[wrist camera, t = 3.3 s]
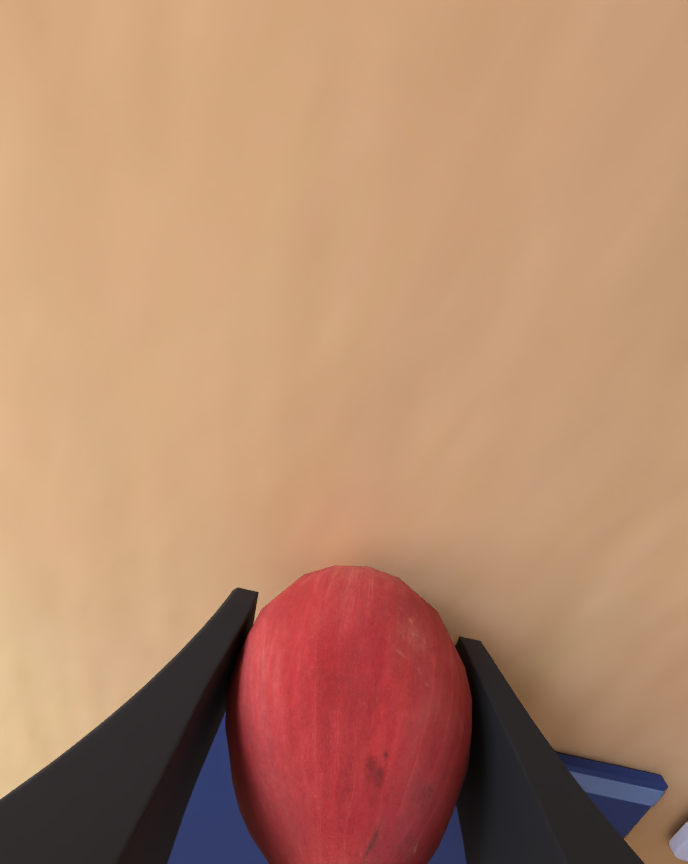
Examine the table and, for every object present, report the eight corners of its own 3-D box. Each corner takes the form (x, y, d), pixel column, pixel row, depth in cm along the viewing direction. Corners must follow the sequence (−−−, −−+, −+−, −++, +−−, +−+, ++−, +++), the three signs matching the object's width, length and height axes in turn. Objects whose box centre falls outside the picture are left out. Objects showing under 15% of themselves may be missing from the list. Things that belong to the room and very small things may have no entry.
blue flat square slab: (661, 774, 15) (670, 788, 14) (490, 979, 21) (493, 992, 21) (175, 669, 15) (169, 680, 14) (156, 909, 21) (152, 921, 21)
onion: (476, 589, 12) (644, 1041, 5) (354, 670, 14) (337, 1105, 6) (355, 476, 11) (326, 832, 4) (238, 578, 13) (51, 971, 5)
